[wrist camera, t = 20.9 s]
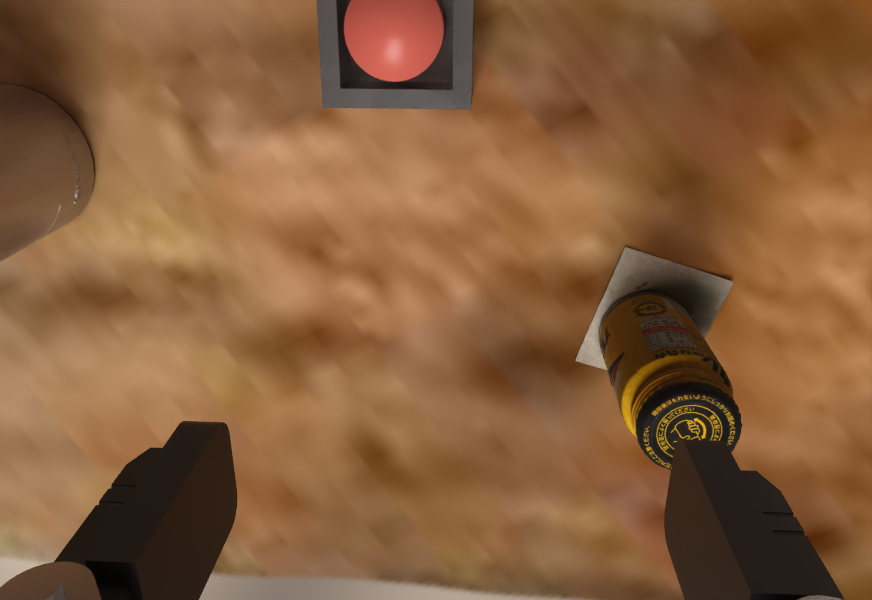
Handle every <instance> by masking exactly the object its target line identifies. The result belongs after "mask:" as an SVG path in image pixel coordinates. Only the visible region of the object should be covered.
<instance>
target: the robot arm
mask: <svg viewBox="0 0 872 600" xmlns="http://www.w3.org/2000/svg"><path fill="white" fill-rule="evenodd" d="M93 183H94V165H93V159H92V156H91V152H90V149H89V145H88V143H87V141H86V139H85V137H84V135H83V133H82V131H81V130H80V129H79V127H78V126H77V124H76V123H75V122H74V120H73V119H72V118H71V116H69V115H68V114H67V113H66V112H65V111H64V110H63V109H62V108H61V107H60V106H59V105H58V104H56V103H55V102H53V101H52V100H50V99H49V98H47V97H46V96H44V95H43V94H40V93H38V92H36V91H34V90H31V89H29V88H26V87H21V86H16V85H12V84H0V262H1V261H2V260H4V259H6V258H8V257H10V256H11V255H13V254H15V253H17V252H18V251H20V250H22V249H24V248H25V247H27V246H29V245H31V244H33V243H35V242H36V241H38V240H40V239H42V238H43V237H45V236H47V235H49V234H50V233H52V232H54V231H56V230H57V229H59V228H61V227H63V226H64V225H66V224H68V223H70V222H71V221H72V220H73V219H75V218H76V217H77V216H78V215H79V214H80V213H81V212H82V210H83V209H84V208H85V206H86V205H87V203H88V201H89V198H90V196H91V193H92V190H93ZM236 509H237V488H236V480H235V472H234V465H233V457H232V449H231V441H230V434H229V429H228V427H227V425H226V424H225V423H223V422H197V421H183V422H181V423H180V424H179V425H178V427H177V428H176V430H175V431H174V432H173V434H172V435H171V437H170V438H169V440H168V441H167V443H166V444H165V445H164V447H163V448H150V449H148V450H147V451H145V452H144V453H142V454H141V455H140V456H138V457H137V458H135V459H134V460H132V461H131V462H129V463H128V464H127V465H126V466H125V467H124V469H123V470H122V471H121V473H120V474H119V475H118V477H117V478H116V479H115V481H114V482H113V483H112V487H111V489H108V490H107V491H106V493H105V494H104V495H103V497H102V498H101V499H100V501H99V505H96V506H95V508H94V509H93V510H92V512H91V513H90V514H89V516H88V517H87V518H86V520H85V521H84V522H83V524H82V525H81V526H80V528H79V529H78V530H77V532H76V533H75V534H74V536H73V537H72V538H71V540H70V541H69V542H68V544H67V545H66V546H65V548H64V549H63V550H62V552H61V553H60V555H59V556H58V557H57V559H56V560H55V561H54V562H52V563H47V564H43V565H40V566H36V567H33V568H31V569H29V570H26V571H24V572H22V573H20V574H19V575H17V576H15V577H14V578H12V579H10V580H9V581H8V582H6V583H5V584H4V585H3V586H1V587H0V600H199V598H200V596H201V594H202V592H203V589H204V587H205V585H206V583H207V581H208V579H209V576H210V574H211V572H212V570H213V568H214V566H215V564H216V561H217V559H218V557H219V555H220V553H221V551H222V548H223V546H224V544H225V542H226V540H227V538H228V535H229V533H230V531H231V529H232V526H233V523H234V520H235V515H236ZM664 527H665V537H666V543H667V547H668V550H669V553H670V556H671V559H672V562H673V565H674V568H675V572H676V575H677V578H678V581H679V584H680V587H681V590H682V593H683V596H684V599H685V600H845V599H844V598H843V596H842V594H841V593H840V591H839V589H838V588H837V586H836V584H835V583H834V581H833V579H832V577H831V576H830V574H829V572H828V571H827V569H826V567H825V566H824V564H823V562H822V561H821V559H820V557H819V555H818V554H817V552H816V550H815V549H814V547H813V545H812V544H811V542H810V540H809V539H808V537H807V536H804V530H803V528H802V527H801V525H800V523H799V522H798V520H797V518H796V517H793V512H792V510H791V508H790V506H789V505H788V503H787V501H786V500H785V498H784V496H783V495H782V493H781V491H780V490H779V489H777V488H776V487H775V486H774V485H773V484H771V483H770V482H769V481H768V480H767V479H765V478H764V477H763V476H762V475H761V474H759V473H758V472H757V471H741V470H740V469H739V467H738V465H737V463H736V461H735V459H734V457H733V456H732V454H731V452H730V450H729V448H728V446H727V445H726V443H725V442H724V441H714V440H685V439H679V440H678V441H677V443H676V446H675V450H674V455H673V462H672V468H671V475H670V481H669V487H668V494H667V500H666V506H665V516H664Z"/></svg>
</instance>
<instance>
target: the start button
mask: <svg viewBox="0 0 872 600" xmlns="http://www.w3.org/2000/svg"><path fill="white" fill-rule="evenodd" d="M445 34H446V18H445V13H444V10H443V7H442V5H441V3H440V1H439V0H351V1H350V3H349V5H348V8H347V11H346V14H345V20H344V35H345V41H346V44H347V47H348V50H349V52H350V54H351V56H352V57H353V59H354V60H355V62H356V63H357V64H358V65H359V66H360V67H361V68H362V69H363V70H364V71H365V72H367V73H368V74H370V75H371V76H373V77H375V78H378V79H381V80H385V81H392V82H397V81H404V80H408V79H411V78H413V77H415V76H417V75H419V74H421V73H422V72H423V71H424V70H426V69H427V68H428V67H429V66H430V64H431V63H432V62H433V60H434V59H435V57H436V56H437V54H438V53H439V51H440V49H441V47H442V45H443V42H444V39H445Z"/></svg>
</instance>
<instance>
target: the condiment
mask: <svg viewBox="0 0 872 600" xmlns="http://www.w3.org/2000/svg"><path fill="white" fill-rule="evenodd" d="M643 283H647V285H645V286H642V284H643ZM733 283H734V282H732V281H729V280H726V279H723V278H720V277H718V276H715V275H712V274H709V273H706V272H703V271H699V270H697V269H694V268H691V267H687V266H684V265H681V264H678V263H675V262H672V261H669V260H666V259H662V258H658V257H655V256H652V255H650V254H647V253H643V252H640V251H636V250H633V249H630V248H627V247H625V248H624V251H623V253H622V255H621V258H620V260H619V262H618V264H617V266H616V269H615V271H614V274H613V276H612V278H611V281H610V283H609V285H608V287H607V290H606V292H605V294H604V296H603V298H602V300H601V303H600V305H599V307H598V309H597V311H596V313H595V316H594V318H593V320H592V323H591V325H590V327H589V330H588V332H587V334H586V336H585V338H584V341H583V343H582V345H581V348H580V350H579V352H578V355H577V358H576V360H575V361H578V362H581V363H584V364H588V365H591V366H595V367H598V368H602V369H605V370H607V371H608V374H609V377H610V381H611V385H612V387H613V389H614V392H615V395H616V398H617V401H618V405H619V408H620V412H621V415H622V416H623V418H624V421H625V423H626V425H627V426H628V428H629V430H630V431H631V432H632V433H633V434H634V435H635V436H636V437H637V438H638V443H639V445H640V446H641V449H642V450H643V451H644V453H645V455H646V456H647V457H648V458H649V459H650V460H652V461H653V462H654V463H655V464H657V465H659V466H661V467H664V468H667V469H669V470H671V468H672V462H673V455H674V450H675V446H676V443H677V441H678V440H679V439H685V440H714V441H724V442H725V443H726V445H727V446H728V448H729V450H730V452H732V451H733V450H734V448H735V446H736V444H737V442H738V440H739V438H740V434H741V427H742V423H741V414H740V413H739V409H738V406H737V405H736V404H735V401H734V400H733V389H732V385H731V382H730V380H729V379H728V376H727V374H726V372H725V371H724V369H723V367H722V366H721V364H720V363H719V361H718V360H717V358H716V356H715V355H714V353H713V352H712V350H711V349H710V347H709V345H708V344H707V342H706V341H705V339H704V338H705V336H706V334H707V333H708V331H709V330H710V328H711V325H712V323H713V321H714V319H715V317H716V315H717V313H718V311H719V309H720V307H721V305H722V304H723V302H724V300H725V299H726V297H727V295H728V293H729V291H730V289H731V287H732V285H733ZM639 286H640V287H641V288H640V289H638V290H637V289H636V288H637V287H639ZM691 316H694V317H693V318H692V317H691Z"/></svg>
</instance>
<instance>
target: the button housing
mask: <svg viewBox="0 0 872 600" xmlns="http://www.w3.org/2000/svg"><path fill="white" fill-rule="evenodd" d="M350 1H351V0H317V13H318V31H319V48H320V66H321V83H322V101H323V108H395V109H471V105H472V76H473V29H474V0H439V1H440V3H441V5H442V7H443V10H444V13H445V18H446V34H445V39H444V42H443V45H442V47H441V49H440V51H439V53H438V54H437V56H436V57H435V59H434V60H433V62H432V63H431V64H430V66H429V67H428V68H427V69H426V70H424V71H423V72H422V73H421V74H419V75H417V76H415V77H413V78H411V79H408V80H404V81H397V82H392V81H385V80H381V79H378V78H375V77H373V76H371V75H370V74H368V73H367V72H365V71H364V70H363V69H362V68H361V67H360V66H359V65H358V64H357V63H356V62H355V60H354V59H353V57H352V56H351V54H350V52H349V50H348V47H347V44H346V41H345V35H344V20H345V14H346V11H347V8H348V5H349V3H350Z"/></svg>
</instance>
